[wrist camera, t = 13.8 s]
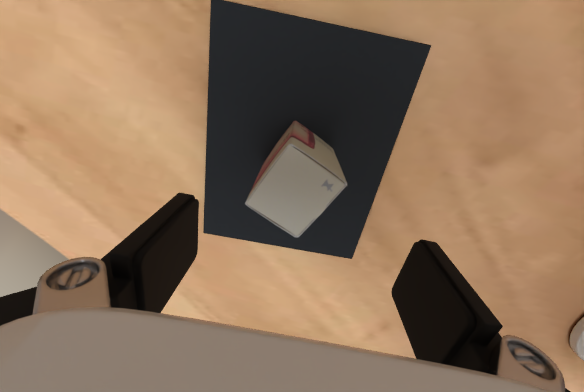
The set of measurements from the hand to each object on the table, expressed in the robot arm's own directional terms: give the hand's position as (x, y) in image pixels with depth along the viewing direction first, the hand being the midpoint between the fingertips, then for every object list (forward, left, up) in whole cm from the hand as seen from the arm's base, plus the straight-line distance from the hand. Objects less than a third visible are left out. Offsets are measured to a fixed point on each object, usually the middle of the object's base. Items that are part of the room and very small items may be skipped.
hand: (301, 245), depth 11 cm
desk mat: (+1, 0, -13) cm, 13 cm away
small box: (0, 0, -13) cm, 13 cm away
